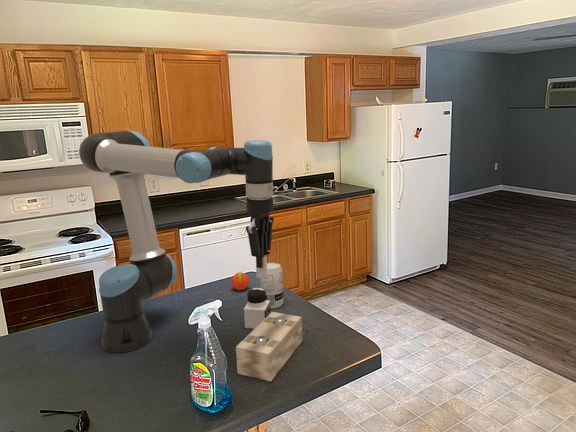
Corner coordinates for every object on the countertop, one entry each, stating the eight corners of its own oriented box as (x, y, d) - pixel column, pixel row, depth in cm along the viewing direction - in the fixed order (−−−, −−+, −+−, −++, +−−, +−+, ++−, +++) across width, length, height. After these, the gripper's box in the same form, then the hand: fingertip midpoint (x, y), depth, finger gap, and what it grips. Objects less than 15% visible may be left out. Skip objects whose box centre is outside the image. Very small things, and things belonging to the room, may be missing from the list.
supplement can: (258, 301, 160) (256, 263, 157) (280, 298, 162) (278, 260, 159) (264, 311, 152) (262, 271, 149) (286, 307, 155) (284, 268, 151)
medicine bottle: (265, 329, 139) (264, 295, 136) (244, 328, 141) (242, 294, 138) (271, 319, 146) (269, 286, 143) (250, 318, 147) (248, 285, 145)
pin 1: (254, 365, 118) (253, 340, 116) (260, 359, 120) (258, 334, 118) (264, 367, 116) (263, 342, 115) (269, 361, 119) (268, 336, 117)
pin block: (237, 373, 116) (235, 346, 114) (273, 335, 136) (272, 311, 134) (270, 381, 112) (269, 354, 110) (302, 340, 132) (301, 316, 130)
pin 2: (274, 343, 128) (272, 320, 126) (278, 338, 131) (277, 316, 129) (283, 345, 127) (282, 322, 125) (287, 340, 130) (286, 317, 128)
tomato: (250, 293, 168) (249, 276, 167) (232, 294, 167) (231, 277, 166) (249, 285, 176) (248, 268, 174) (232, 286, 175) (230, 270, 173)
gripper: (261, 203, 112) (263, 287, 117) (281, 193, 123) (282, 270, 129) (236, 200, 114) (239, 283, 120) (258, 192, 126) (260, 267, 132)
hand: (261, 276), depth 125 cm, fingers closed
